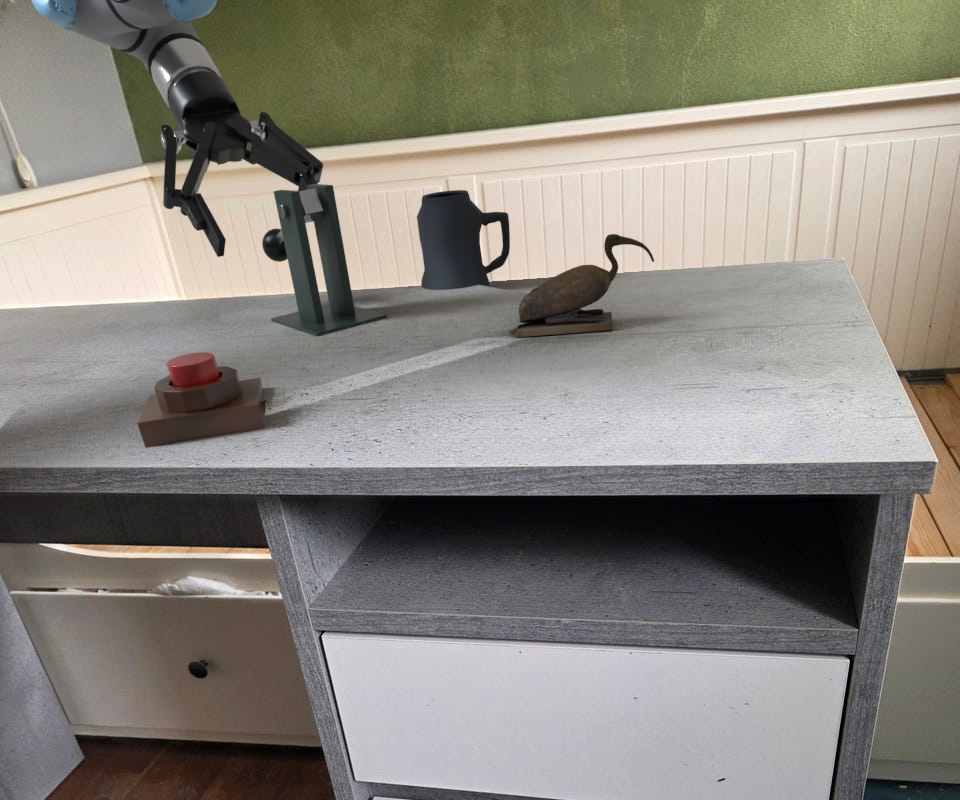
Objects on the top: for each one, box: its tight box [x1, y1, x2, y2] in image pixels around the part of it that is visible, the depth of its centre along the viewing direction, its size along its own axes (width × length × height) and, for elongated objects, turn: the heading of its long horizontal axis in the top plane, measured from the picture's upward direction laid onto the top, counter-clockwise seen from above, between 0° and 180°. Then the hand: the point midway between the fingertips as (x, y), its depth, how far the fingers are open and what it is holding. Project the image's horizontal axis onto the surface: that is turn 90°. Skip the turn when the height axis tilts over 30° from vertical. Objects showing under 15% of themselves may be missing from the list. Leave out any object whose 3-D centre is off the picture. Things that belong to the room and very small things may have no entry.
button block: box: [137, 365, 267, 448], centre depth 76 cm, size 10×8×4 cm
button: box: [166, 351, 220, 387], centre depth 75 cm, size 4×4×2 cm
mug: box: [416, 189, 511, 291], centre depth 109 cm, size 12×9×11 cm
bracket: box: [270, 183, 388, 337], centre depth 98 cm, size 12×9×15 cm
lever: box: [262, 188, 323, 263], centre depth 100 cm, size 14×4×4 cm, turn 36°
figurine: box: [515, 233, 655, 338], centre depth 89 cm, size 14×4×9 cm, turn 84°
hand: (275, 237), depth 104 cm, fingers open, 13 cm apart
